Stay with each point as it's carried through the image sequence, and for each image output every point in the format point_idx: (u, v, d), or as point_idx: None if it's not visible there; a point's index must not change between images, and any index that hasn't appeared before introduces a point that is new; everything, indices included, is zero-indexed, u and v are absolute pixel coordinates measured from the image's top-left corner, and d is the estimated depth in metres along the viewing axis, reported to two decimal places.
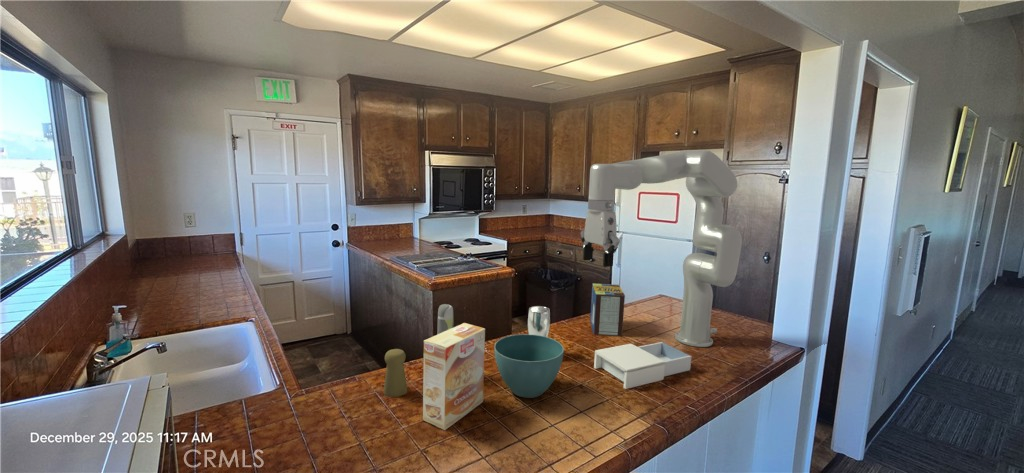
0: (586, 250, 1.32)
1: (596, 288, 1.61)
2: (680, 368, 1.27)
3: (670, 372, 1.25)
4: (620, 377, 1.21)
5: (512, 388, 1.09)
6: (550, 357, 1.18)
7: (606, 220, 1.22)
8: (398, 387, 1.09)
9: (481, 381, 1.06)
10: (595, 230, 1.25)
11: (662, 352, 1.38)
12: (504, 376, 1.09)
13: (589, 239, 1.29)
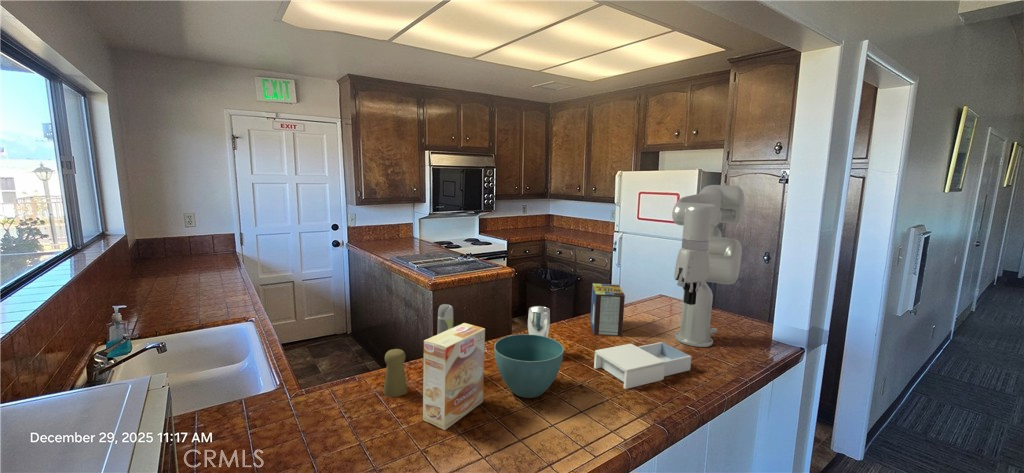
0: None
1: (596, 288, 1.61)
2: (680, 368, 1.27)
3: (670, 372, 1.25)
4: (620, 377, 1.21)
5: (512, 388, 1.09)
6: (550, 357, 1.18)
7: None
8: (398, 387, 1.09)
9: (481, 381, 1.06)
10: (701, 269, 1.30)
11: (662, 352, 1.38)
12: (504, 376, 1.09)
13: (693, 279, 1.30)
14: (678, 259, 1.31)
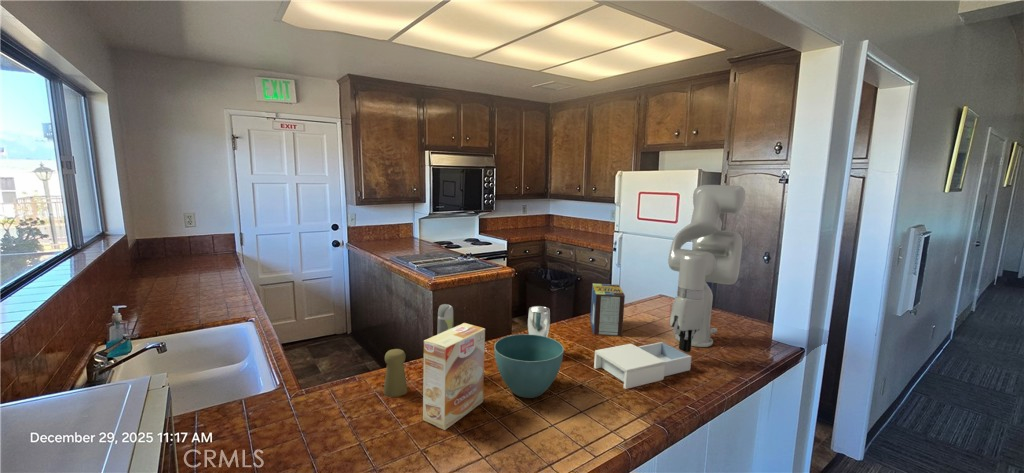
0: None
1: (596, 288, 1.61)
2: (680, 368, 1.27)
3: (670, 372, 1.25)
4: (620, 377, 1.21)
5: (512, 388, 1.09)
6: (550, 357, 1.18)
7: None
8: (398, 387, 1.09)
9: (481, 381, 1.06)
10: (696, 317, 1.32)
11: (662, 352, 1.38)
12: (504, 376, 1.09)
13: (688, 327, 1.31)
14: (674, 307, 1.32)
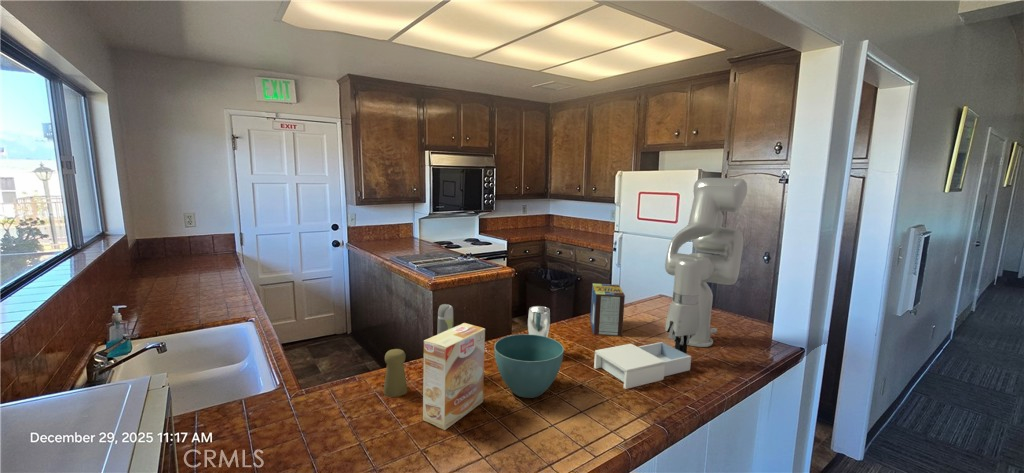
0: None
1: (596, 288, 1.61)
2: (680, 369, 1.27)
3: (670, 372, 1.25)
4: (620, 377, 1.21)
5: (512, 388, 1.09)
6: (550, 357, 1.18)
7: None
8: (398, 387, 1.09)
9: (481, 381, 1.06)
10: (692, 322, 1.32)
11: (662, 352, 1.38)
12: (504, 376, 1.09)
13: (684, 333, 1.31)
14: (669, 312, 1.32)
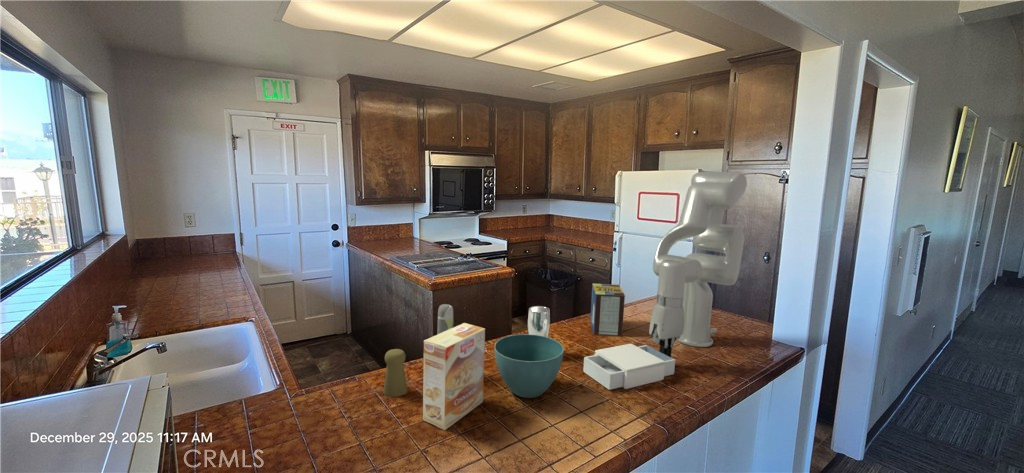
0: None
1: (596, 288, 1.61)
2: None
3: None
4: (601, 381, 1.18)
5: (512, 388, 1.09)
6: (550, 357, 1.18)
7: None
8: (398, 387, 1.09)
9: (481, 381, 1.06)
10: (676, 325, 1.29)
11: None
12: (504, 376, 1.09)
13: (668, 336, 1.28)
14: (653, 315, 1.29)
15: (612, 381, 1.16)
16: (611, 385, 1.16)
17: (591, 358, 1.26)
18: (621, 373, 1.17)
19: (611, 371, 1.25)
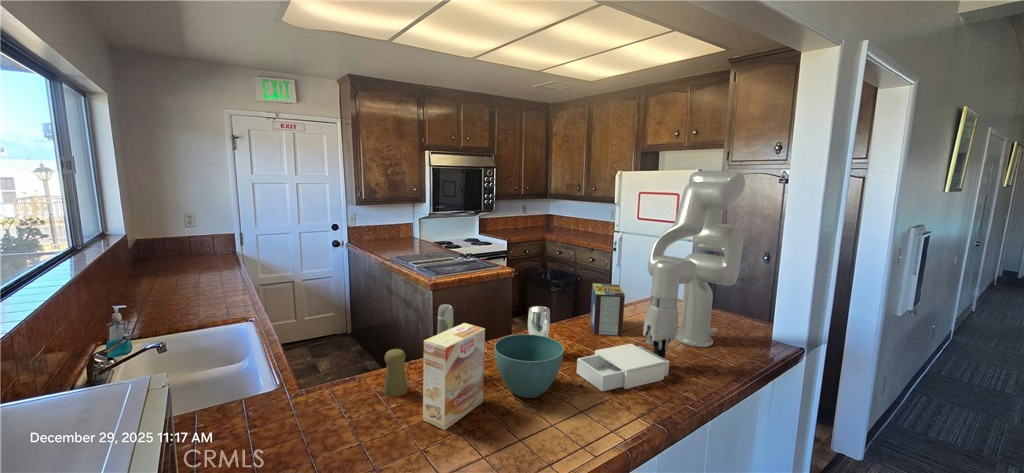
0: None
1: (596, 288, 1.61)
2: None
3: None
4: (594, 383, 1.17)
5: (512, 388, 1.09)
6: (550, 357, 1.18)
7: None
8: (398, 387, 1.09)
9: (481, 381, 1.06)
10: (670, 326, 1.28)
11: None
12: (504, 376, 1.09)
13: (662, 337, 1.27)
14: (647, 316, 1.28)
15: (605, 383, 1.15)
16: (604, 387, 1.15)
17: (584, 359, 1.25)
18: (614, 375, 1.16)
19: (604, 372, 1.24)
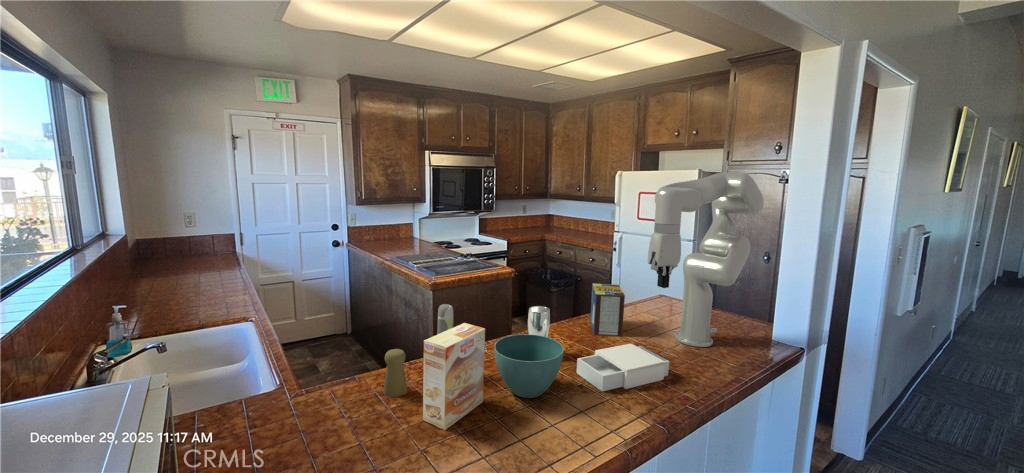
0: None
1: (596, 288, 1.61)
2: None
3: None
4: (594, 383, 1.17)
5: (512, 388, 1.09)
6: (550, 357, 1.18)
7: None
8: (398, 387, 1.09)
9: (481, 381, 1.06)
10: (674, 252, 1.31)
11: None
12: (504, 376, 1.09)
13: (666, 263, 1.31)
14: (651, 243, 1.32)
15: (605, 383, 1.15)
16: (604, 387, 1.15)
17: (584, 359, 1.25)
18: (614, 375, 1.16)
19: (604, 372, 1.24)
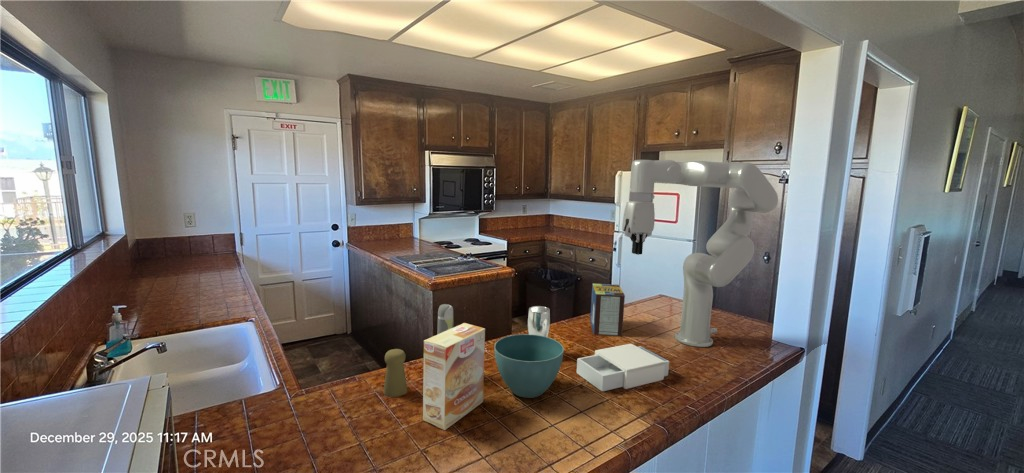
0: None
1: (596, 288, 1.61)
2: None
3: None
4: (594, 383, 1.17)
5: (512, 388, 1.09)
6: (550, 357, 1.18)
7: None
8: (398, 387, 1.09)
9: (481, 381, 1.06)
10: (647, 220, 1.39)
11: None
12: (504, 376, 1.09)
13: (639, 230, 1.38)
14: (625, 211, 1.39)
15: (605, 383, 1.15)
16: (604, 387, 1.15)
17: (584, 359, 1.25)
18: (614, 375, 1.16)
19: (604, 372, 1.24)
